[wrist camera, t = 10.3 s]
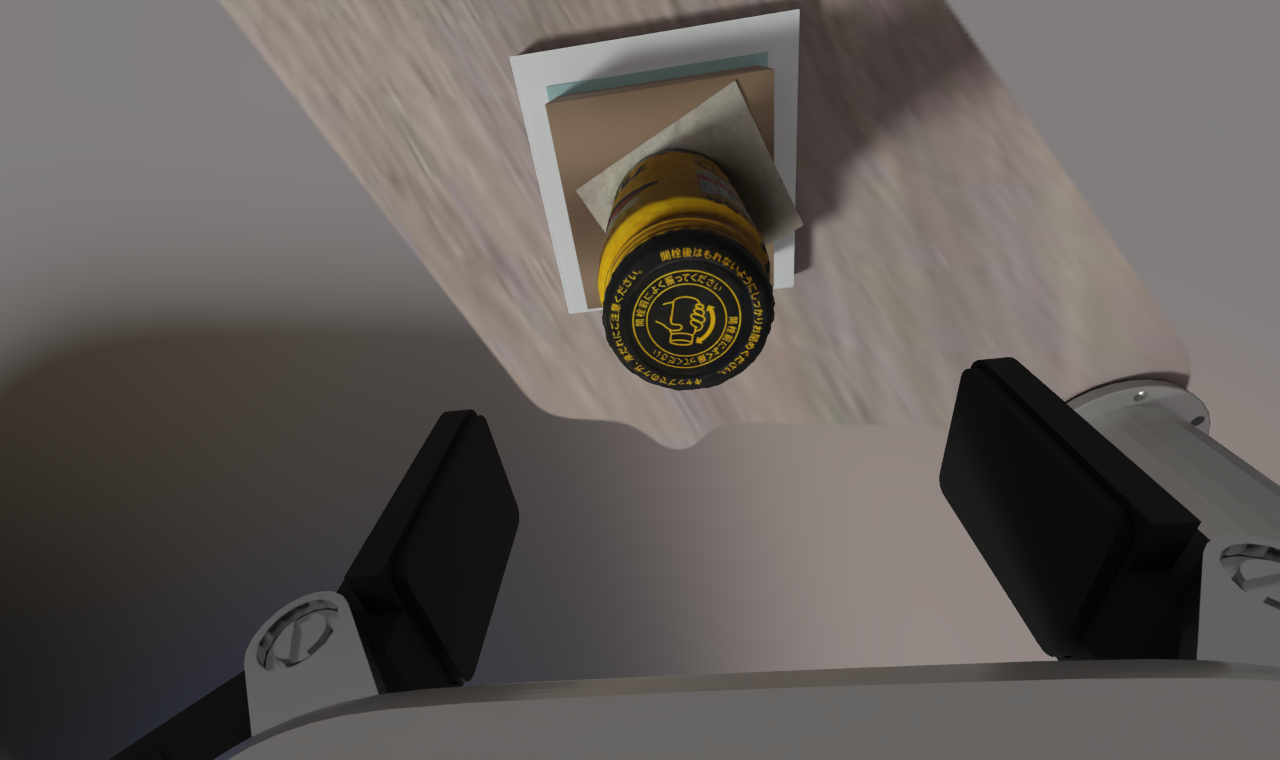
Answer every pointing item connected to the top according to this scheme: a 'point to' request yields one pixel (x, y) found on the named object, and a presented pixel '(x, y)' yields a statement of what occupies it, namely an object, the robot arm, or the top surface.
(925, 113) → the top surface
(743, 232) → the condiment
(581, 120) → the base block
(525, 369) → the top surface
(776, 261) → the build board
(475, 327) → the top surface
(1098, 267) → the top surface
